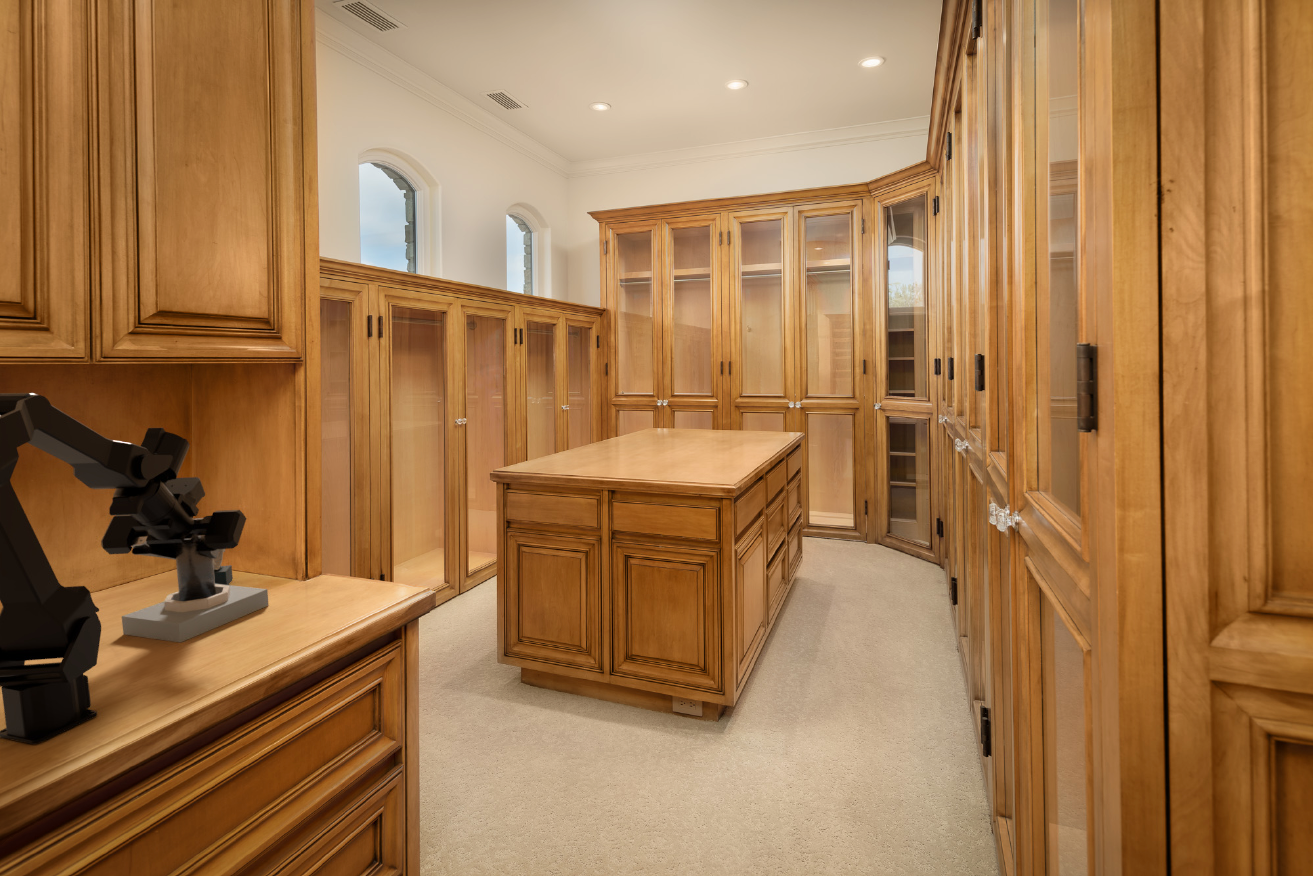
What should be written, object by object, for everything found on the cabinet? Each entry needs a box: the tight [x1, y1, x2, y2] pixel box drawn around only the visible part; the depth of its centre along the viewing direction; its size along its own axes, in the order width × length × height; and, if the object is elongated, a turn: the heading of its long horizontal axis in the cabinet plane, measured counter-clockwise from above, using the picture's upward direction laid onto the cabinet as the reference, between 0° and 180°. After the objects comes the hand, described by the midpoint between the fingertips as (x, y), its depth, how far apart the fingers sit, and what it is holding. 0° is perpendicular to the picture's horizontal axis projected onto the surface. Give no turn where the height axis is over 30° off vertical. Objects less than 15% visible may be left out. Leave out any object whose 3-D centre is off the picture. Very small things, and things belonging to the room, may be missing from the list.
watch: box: [213, 549, 234, 585], centre depth 124 cm, size 6×8×11 cm
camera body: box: [121, 584, 270, 643], centre depth 108 cm, size 16×12×4 cm
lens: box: [174, 517, 216, 601], centre depth 107 cm, size 5×5×13 cm
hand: (199, 556), depth 108 cm, fingers closed on lens, 5 cm apart
